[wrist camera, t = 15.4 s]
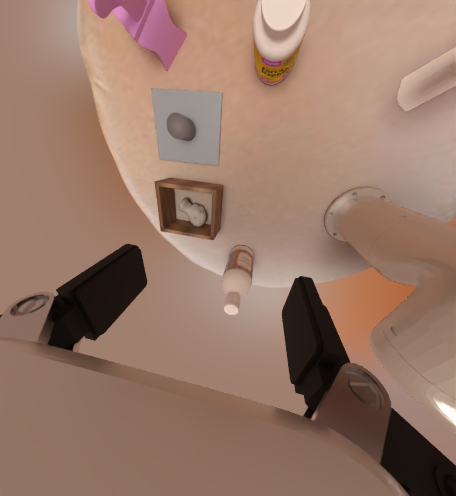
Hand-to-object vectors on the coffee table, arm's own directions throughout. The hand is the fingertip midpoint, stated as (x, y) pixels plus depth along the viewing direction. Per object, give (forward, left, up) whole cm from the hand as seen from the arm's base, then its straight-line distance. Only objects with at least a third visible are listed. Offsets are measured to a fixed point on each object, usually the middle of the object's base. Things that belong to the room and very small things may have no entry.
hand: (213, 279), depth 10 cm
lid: (+15, -10, -34) cm, 38 cm away
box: (+13, +6, -33) cm, 36 cm away
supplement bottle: (-1, -21, -34) cm, 40 cm away
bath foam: (-1, +19, -34) cm, 39 cm away
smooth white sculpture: (+13, +7, -34) cm, 37 cm away
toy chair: (+20, -24, -34) cm, 46 cm away
